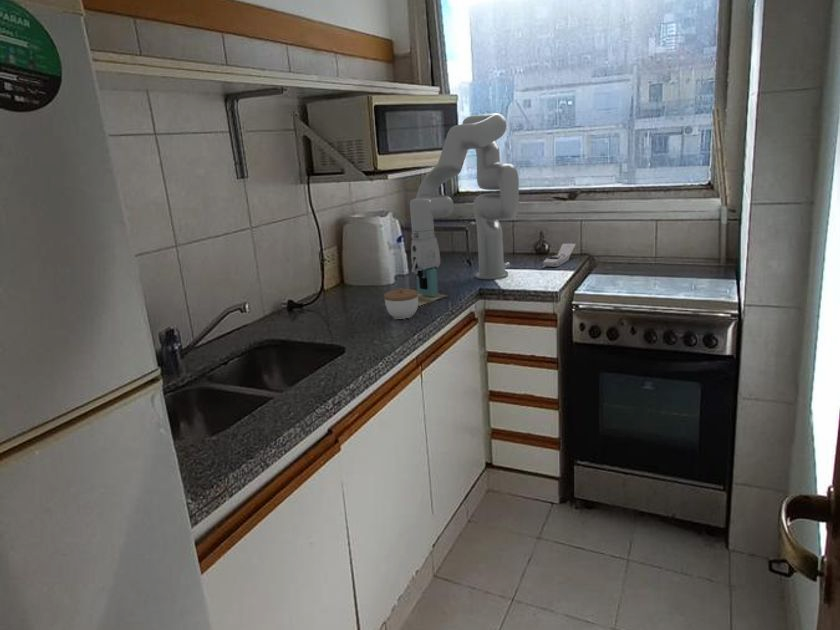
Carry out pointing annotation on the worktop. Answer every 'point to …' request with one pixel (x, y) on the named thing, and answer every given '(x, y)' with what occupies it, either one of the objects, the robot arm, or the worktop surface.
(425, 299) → the mat
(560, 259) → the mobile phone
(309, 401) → the worktop surface
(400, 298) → the lidded jar
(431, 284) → the tile
